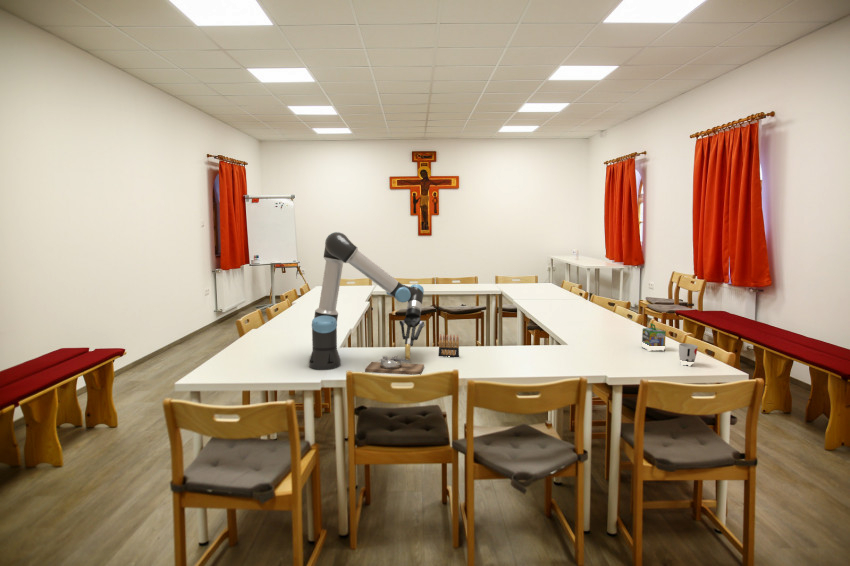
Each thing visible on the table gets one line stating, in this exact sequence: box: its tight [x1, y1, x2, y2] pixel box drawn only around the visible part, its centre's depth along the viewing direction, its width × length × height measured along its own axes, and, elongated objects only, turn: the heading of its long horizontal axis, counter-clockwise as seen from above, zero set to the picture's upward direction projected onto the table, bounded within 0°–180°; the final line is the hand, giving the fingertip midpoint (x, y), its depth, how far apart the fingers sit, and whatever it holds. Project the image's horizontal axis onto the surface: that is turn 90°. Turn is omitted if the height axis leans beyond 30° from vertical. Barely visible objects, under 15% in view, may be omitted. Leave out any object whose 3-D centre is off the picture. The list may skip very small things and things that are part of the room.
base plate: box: [364, 361, 425, 375], centre depth 225 cm, size 26×12×2 cm, turn 82°
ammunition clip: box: [437, 333, 460, 358], centre depth 248 cm, size 11×2×12 cm, turn 82°
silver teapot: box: [379, 343, 411, 369], centre depth 224 cm, size 14×10×11 cm
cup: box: [678, 342, 698, 363], centre depth 237 cm, size 8×8×10 cm
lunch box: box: [641, 322, 667, 347], centre depth 266 cm, size 9×9×15 cm
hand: (407, 351), depth 230 cm, fingers closed
